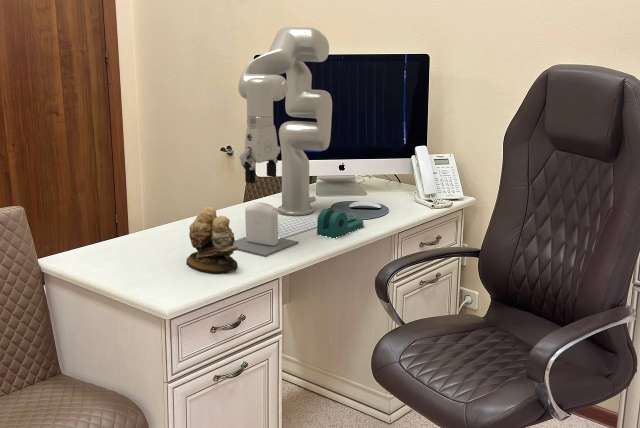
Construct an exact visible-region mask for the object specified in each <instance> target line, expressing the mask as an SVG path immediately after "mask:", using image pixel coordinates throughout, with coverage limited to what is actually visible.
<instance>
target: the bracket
mask: <svg viewBox="0 0 640 428" xmlns="http://www.w3.org/2000/svg"><path fill="white" fill-rule="evenodd" d="M316 220H317V222H316V223H317V224H316V225H317V227H316V230H317V231H316V235H317V236H320V235H321V236H322V237H325V236H327V237H326V238H329V237H331V238H330V239H333V238H335V239H337V238H336V237H338V238H340V237H342V235H343V236H346V235H348V234H350V233H349V232H351V233H353V232H356V231H358V230H357V229H359V230H361V229H363V228H364V219H362V218H360V217H359V218H357V217H348V216H347V214H346V213H345V212H342V211H337V210H336V211H334V210H332V209H328V208H322V210H321V211H320V212H319V214H318V217H317V219H316ZM362 227H363V228H362ZM360 228H361V229H360ZM355 230H356V231H355ZM352 231H353V232H352ZM347 233H348V234H347ZM345 234H346V235H345ZM339 236H340V237H339Z"/></svg>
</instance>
